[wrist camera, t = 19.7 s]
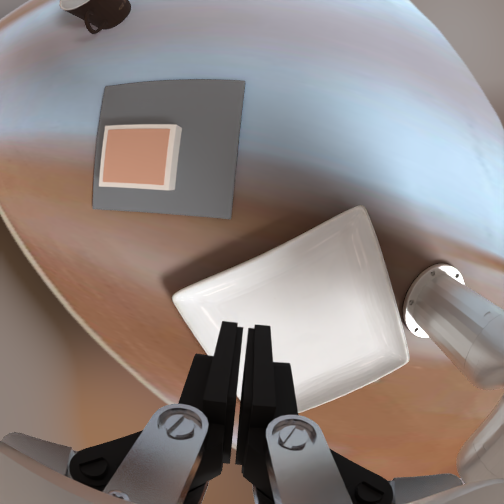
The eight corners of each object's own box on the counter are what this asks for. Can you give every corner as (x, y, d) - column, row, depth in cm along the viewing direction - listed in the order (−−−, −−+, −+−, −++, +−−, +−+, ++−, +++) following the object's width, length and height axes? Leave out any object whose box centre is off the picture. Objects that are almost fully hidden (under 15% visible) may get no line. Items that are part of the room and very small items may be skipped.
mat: (245, 82, 31) (245, 80, 30) (231, 218, 36) (230, 219, 35) (107, 87, 31) (105, 86, 30) (94, 208, 35) (92, 209, 35)
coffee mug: (103, -2, 26) (77, -28, 16) (145, -7, 27) (122, -39, 17) (76, 52, 29) (41, 32, 19) (117, 49, 29) (84, 23, 20)
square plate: (402, 350, 41) (412, 363, 37) (258, 411, 44) (258, 427, 41) (356, 200, 35) (366, 203, 31) (174, 286, 39) (166, 297, 35)
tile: (176, 124, 30) (104, 125, 29) (168, 190, 32) (98, 186, 31) (181, 128, 32) (114, 128, 32) (174, 189, 34) (107, 185, 34)
